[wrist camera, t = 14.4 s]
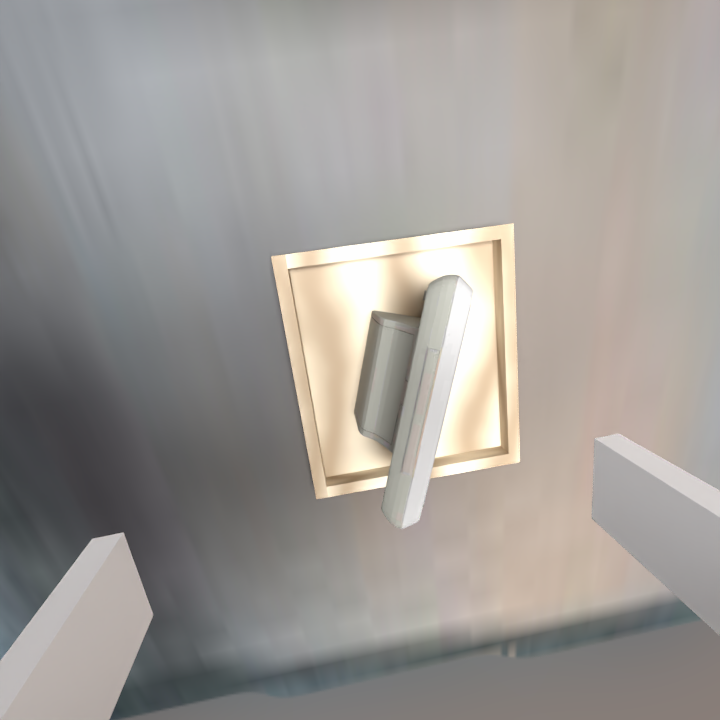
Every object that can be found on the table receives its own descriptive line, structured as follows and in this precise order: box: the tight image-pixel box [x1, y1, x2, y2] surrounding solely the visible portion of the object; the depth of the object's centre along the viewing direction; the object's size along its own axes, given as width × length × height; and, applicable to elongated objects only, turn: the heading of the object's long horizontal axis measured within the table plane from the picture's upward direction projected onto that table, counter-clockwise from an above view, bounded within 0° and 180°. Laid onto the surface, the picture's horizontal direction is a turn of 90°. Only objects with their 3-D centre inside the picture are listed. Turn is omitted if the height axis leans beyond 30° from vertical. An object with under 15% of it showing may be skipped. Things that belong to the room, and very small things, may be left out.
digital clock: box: [354, 274, 473, 529], centre depth 27 cm, size 16×9×11 cm, turn 159°
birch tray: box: [271, 223, 520, 499], centre depth 32 cm, size 18×20×2 cm
